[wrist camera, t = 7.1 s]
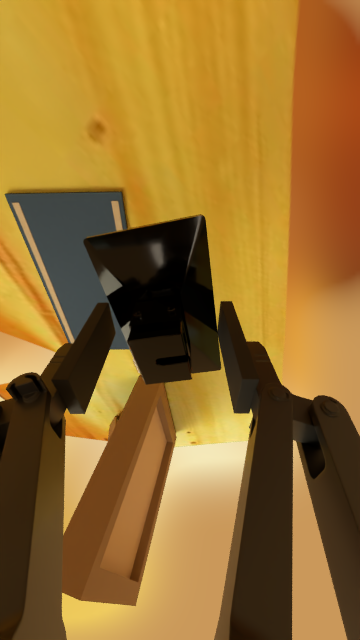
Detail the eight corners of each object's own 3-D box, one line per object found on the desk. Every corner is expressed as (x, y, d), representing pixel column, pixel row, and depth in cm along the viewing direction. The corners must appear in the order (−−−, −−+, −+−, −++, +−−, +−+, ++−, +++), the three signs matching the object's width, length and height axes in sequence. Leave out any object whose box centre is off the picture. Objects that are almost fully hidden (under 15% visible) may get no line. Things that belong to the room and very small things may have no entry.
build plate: (220, 365, 19) (230, 416, 15) (140, 375, 20) (131, 426, 16) (204, 213, 12) (216, 237, 8) (78, 238, 12) (35, 271, 9)
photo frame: (162, 373, 39) (142, 600, 19) (176, 433, 52) (173, 606, 32) (83, 379, 40) (-17, 599, 20) (116, 435, 53) (76, 605, 33)
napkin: (6, 193, 22) (3, 194, 22) (121, 191, 22) (120, 192, 22) (72, 348, 35) (71, 350, 35) (145, 347, 35) (145, 349, 35)
